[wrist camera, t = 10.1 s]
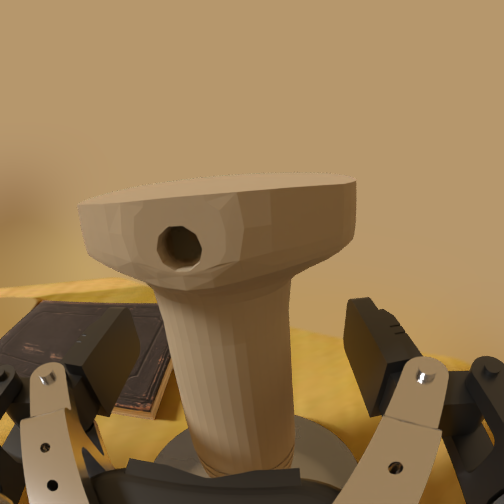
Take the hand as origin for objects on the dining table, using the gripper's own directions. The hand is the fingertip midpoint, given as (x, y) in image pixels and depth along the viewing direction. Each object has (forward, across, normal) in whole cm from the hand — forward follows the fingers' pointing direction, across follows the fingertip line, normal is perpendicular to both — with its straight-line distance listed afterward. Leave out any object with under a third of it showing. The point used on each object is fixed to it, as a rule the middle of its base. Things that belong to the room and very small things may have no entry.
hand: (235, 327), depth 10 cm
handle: (-2, 0, +10) cm, 10 cm away
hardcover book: (+11, +18, +12) cm, 25 cm away
